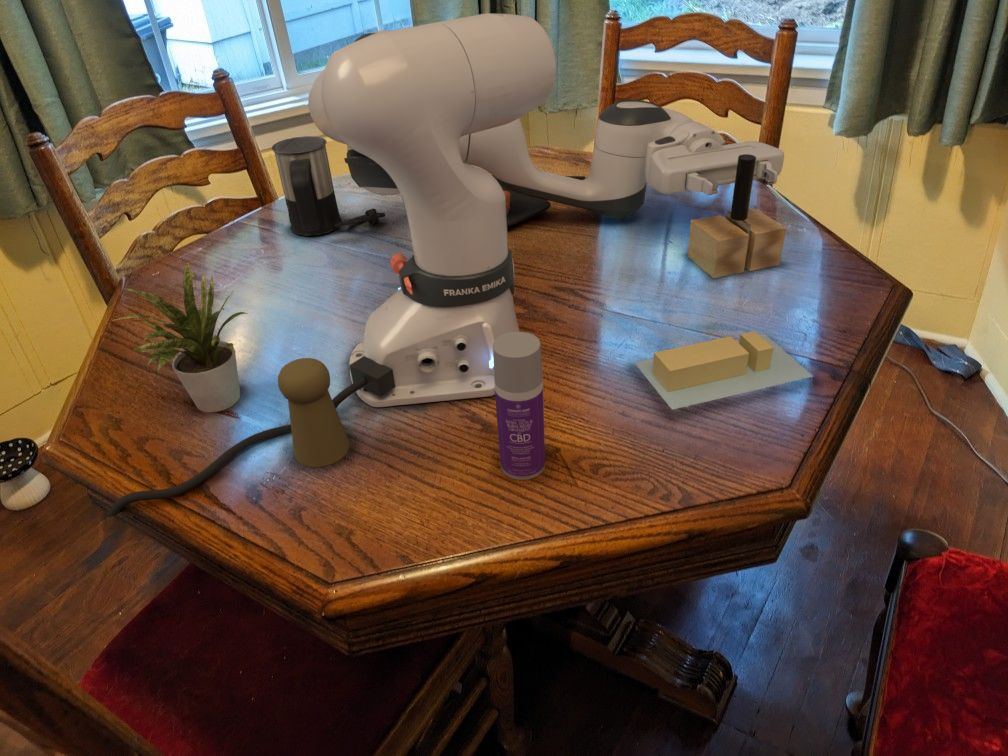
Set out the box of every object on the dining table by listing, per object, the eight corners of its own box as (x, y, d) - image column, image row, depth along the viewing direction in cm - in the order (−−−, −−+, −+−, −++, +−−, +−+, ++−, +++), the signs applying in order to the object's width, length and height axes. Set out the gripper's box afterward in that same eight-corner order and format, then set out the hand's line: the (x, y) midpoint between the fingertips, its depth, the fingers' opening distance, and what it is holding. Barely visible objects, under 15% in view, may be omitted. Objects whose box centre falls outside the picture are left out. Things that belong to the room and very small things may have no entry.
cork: (337, 470, 77) (316, 385, 71) (284, 464, 78) (259, 381, 72) (357, 433, 82) (339, 351, 75) (307, 428, 83) (286, 347, 77)
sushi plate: (396, 197, 140) (394, 178, 138) (511, 156, 156) (510, 138, 153) (497, 239, 122) (496, 218, 120) (615, 188, 137) (616, 168, 135)
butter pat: (754, 372, 86) (758, 351, 84) (736, 354, 89) (739, 333, 87) (769, 369, 86) (774, 347, 84) (751, 351, 89) (754, 330, 87)
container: (511, 486, 74) (503, 363, 65) (493, 458, 77) (483, 338, 69) (553, 471, 75) (550, 349, 66) (533, 445, 79) (528, 326, 70)
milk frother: (285, 223, 132) (265, 141, 124) (367, 204, 138) (354, 124, 129) (304, 252, 122) (284, 165, 113) (393, 230, 127) (380, 145, 119)
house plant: (154, 378, 93) (107, 262, 84) (264, 352, 97) (231, 238, 87) (152, 445, 82) (98, 320, 73) (277, 412, 86) (240, 290, 76)
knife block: (713, 278, 107) (718, 240, 103) (687, 256, 113) (690, 219, 110) (779, 265, 109) (786, 228, 106) (750, 244, 115) (755, 208, 112)
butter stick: (667, 392, 83) (669, 370, 82) (652, 373, 86) (653, 352, 85) (745, 374, 85) (749, 353, 84) (727, 356, 88) (730, 335, 87)
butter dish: (671, 416, 81) (672, 409, 81) (633, 368, 89) (633, 362, 89) (812, 383, 85) (813, 376, 84) (763, 340, 93) (764, 333, 92)
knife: (736, 270, 108) (751, 164, 99) (715, 254, 113) (728, 151, 104) (750, 267, 109) (767, 162, 100) (729, 251, 114) (743, 149, 104)
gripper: (751, 165, 119) (803, 194, 108) (636, 184, 115) (677, 216, 104) (757, 126, 115) (811, 151, 104) (638, 144, 111) (681, 173, 100)
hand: (743, 184), depth 104 cm, fingers open, 8 cm apart
